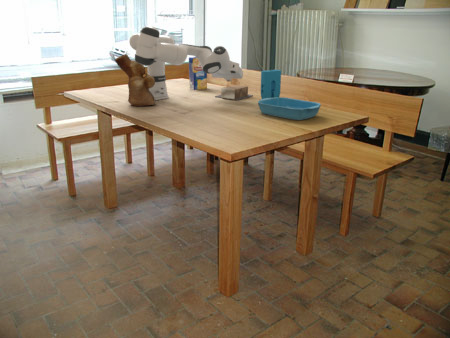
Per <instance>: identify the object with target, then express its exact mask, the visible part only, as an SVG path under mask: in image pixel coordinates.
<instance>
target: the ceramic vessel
mask: <svg viewBox="0 0 450 338" xmlns="http://www.w3.org/2000/svg"><path fill="white" fill-rule="evenodd" d="M114 61H115V63H116V65H117V66H118V68H120V69H121V70H122V71H123V72H124V73H125V74H126V76H128V83H127V86H128V87H127V88H128V99H127V102H128V103H129V104H130V105H131V106H137V107H142V106H144V107H145V106H151V105H152V106H153V105H155V103H156V102H155V101H156V100H155V99H154V96H153V95H152V93H151V92H150V91H149V88H152V87H153V86H154V84H155V79H154V78H153V77H152V76H150V75H148V72H146V66H143V65H140V64H139V63H138V62H136V61H135V60H132V59H130V57H129V55H128V53H126V54H123V55H119V56H118V57H116V58H115V59H114ZM144 75H145V76H144Z"/></svg>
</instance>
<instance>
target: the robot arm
mask: <svg viewBox="0 0 450 338" xmlns="http://www.w3.org/2000/svg"><path fill="white" fill-rule="evenodd" d="M139 31H140V32H137V33H133V34H132V35H131V36H130V38H129V45H130V47H131V48H132V49H133V50H135V54H134V61H136V62H138V63H139V64H140V65H143V66H144V67H147V69H146V71H147V74H148V75H150V76H152V77H153V78H154V79H155V84H154V86H153V87H152V88H149V91H150V92H151V93H152V95H153V96H154V99H155V100H154V101H158V100H166V99H169V98H170V97H169V94H168V93H169V92H168V89H167V88H168V87H167V83H166V81H167V77H166V74H165V71H166V66H165V65H166V64H170V65H174V66H182V65H183V64H184V63H185V62H186V60H187V57H188V56H192V57H197V59H198V60H199V62H200V65H201V67H202V69H203V71H204V72H205V73H207V75H210V74H211V77H212V78H214V79H215V78H217V79H224V80H225V81H226V82H232V79H238V80H241V79H242V78H243V77H244V72H243V69H242V67H241V66H240V63H238V62H236V61H232V60H231V59H230V55H229V52H228V50H227V49H226V48H225V47H224V46H222V45H219V46H218V45H217V46H215V47H214V48H213V49H212V48H211V47H210V46H208V45H193V44H187V43H180V44H175V43H176V42H175V40H174V39H173V37H172V36H168V35H160V31H159V29H157V28H156V27H154V26H152V25H145V26H143V27H142V28H141V29H140V30H139Z"/></svg>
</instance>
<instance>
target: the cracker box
mask: <svg viewBox="0 0 450 338" xmlns="http://www.w3.org/2000/svg"><path fill="white" fill-rule="evenodd" d="M188 75H189V76H188V77H189V78H188V80H189V89H191V90H193V91H194V90H195V91H196V90H204V89H208V74H207V73H205V72H204V71H203V69H202V67H201V65H200V62H199V60H198V59H197V57H196V56H192V57H191V56H190V57H188Z"/></svg>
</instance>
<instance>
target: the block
mask: <svg viewBox="0 0 450 338" xmlns="http://www.w3.org/2000/svg"><path fill="white" fill-rule="evenodd" d="M281 82H282V70H280V69H269V70H267V69H266V70H261V72H260V97H261V99H265V98H274V97H281V96H280V95H281V89H282V88H281V86H282V85H281Z"/></svg>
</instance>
